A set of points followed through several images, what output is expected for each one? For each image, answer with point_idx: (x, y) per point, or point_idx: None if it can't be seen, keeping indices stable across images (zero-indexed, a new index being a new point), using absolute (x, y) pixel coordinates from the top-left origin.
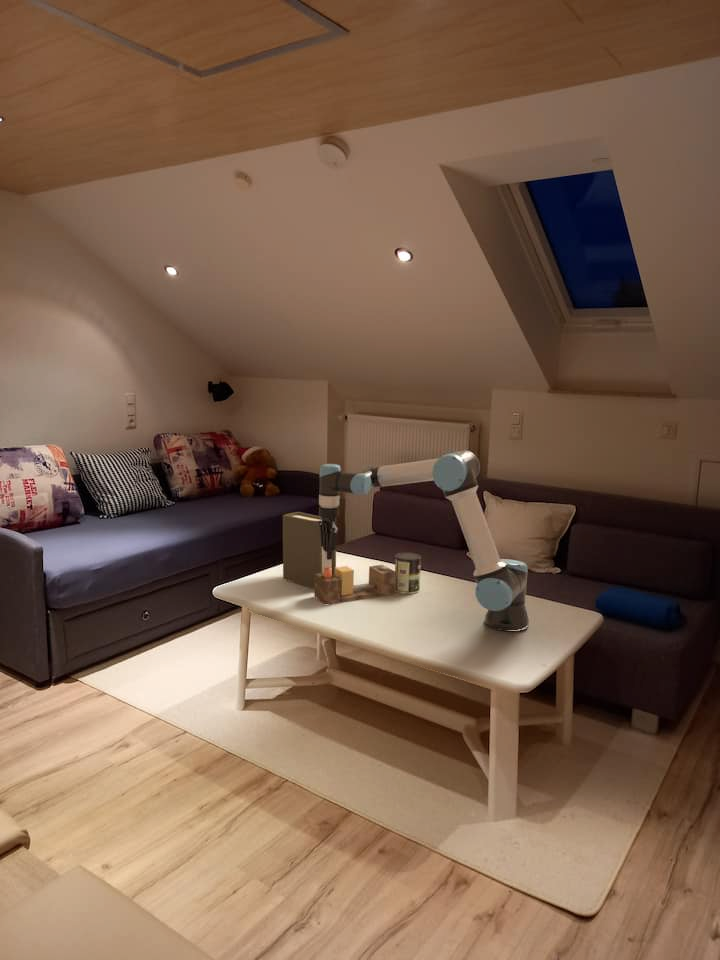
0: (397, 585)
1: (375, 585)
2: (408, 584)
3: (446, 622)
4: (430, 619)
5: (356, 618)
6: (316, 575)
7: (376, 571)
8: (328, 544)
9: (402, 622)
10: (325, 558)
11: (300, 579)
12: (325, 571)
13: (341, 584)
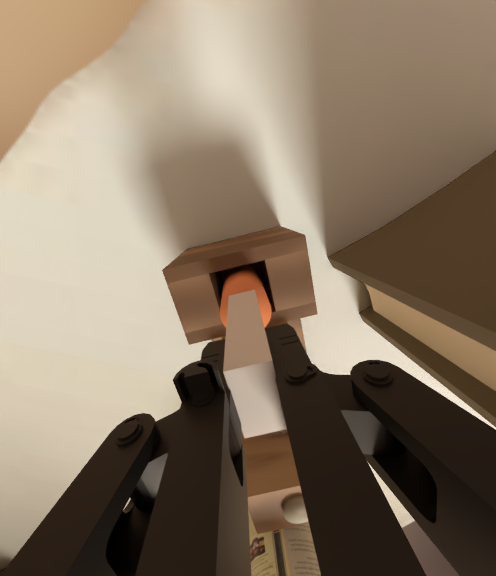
0: None
1: (271, 433)
2: None
3: (35, 508)
4: (54, 485)
5: (54, 320)
6: (281, 240)
7: (285, 484)
8: (164, 505)
9: (28, 427)
10: (226, 327)
11: (439, 199)
12: (228, 290)
13: (223, 337)
